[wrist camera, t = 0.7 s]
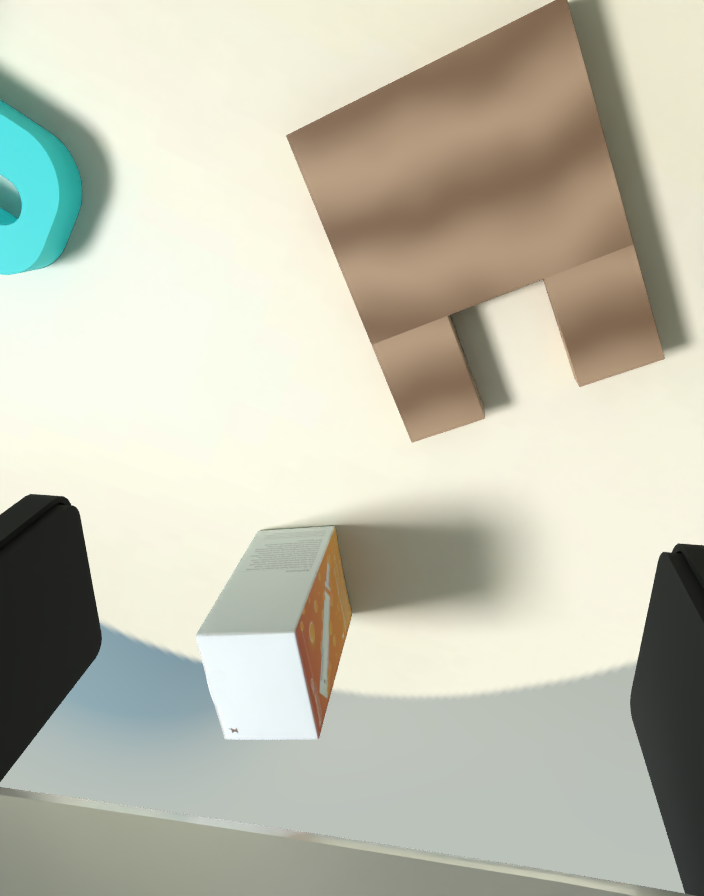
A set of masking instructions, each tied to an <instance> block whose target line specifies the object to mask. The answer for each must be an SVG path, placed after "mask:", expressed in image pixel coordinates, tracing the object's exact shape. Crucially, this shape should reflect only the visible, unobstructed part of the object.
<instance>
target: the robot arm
mask: <svg viewBox="0 0 704 896" xmlns="http://www.w3.org/2000/svg"><path fill="white" fill-rule="evenodd" d="M101 640H102V637H101V629H100V623H99V618H98V612H97V607H96V601H95V596H94V590H93V585H92V579H91V574H90V568H89V563H88V557H87V552H86V546H85V541H84V535H83V530H82V524H81V519H80V514H79V511H78V509H77V508H76V507H75V506H71V503H70V502H69V500H68V499H67V498H65V497H63V496H50V495H37V494H30V495H28V496H25V497H24V498H23V499H21V500H20V501H18V502H17V503H16V504H14V505H13V506H12V507H10V508H9V509H7V510H6V511H5V512H3V513H2V514H1V515H0V782H1V780H2V779H3V778H4V776H5V775H6V774H7V772H8V771H9V770H10V768H11V767H12V766H13V764H14V763H15V762H16V761H17V759H18V758H19V757H20V756H21V754H22V753H23V752H24V750H25V749H26V748H27V746H28V745H29V744H30V743H31V741H32V740H33V739H34V737H35V736H36V735H37V733H38V732H39V731H40V730H41V728H42V727H43V726H44V724H45V723H46V722H47V720H48V719H49V718H50V716H51V715H52V714H53V712H54V711H55V710H56V709H57V707H58V706H59V705H60V704H61V702H62V701H63V700H64V698H65V697H66V696H67V694H68V693H69V692H70V691H71V689H72V688H73V687H74V685H75V684H76V683H77V681H78V680H79V679H80V677H81V676H82V675H83V674H84V672H85V671H86V669H87V668H88V667H89V666H90V664H91V663H92V662H93V661H94V659H95V658H96V656H97V655H98V652H99V650H100V646H101ZM630 705H631V715H632V720H633V723H634V727H635V730H636V733H637V736H638V740H639V743H640V746H641V750H642V753H643V756H644V759H645V763H646V766H647V769H648V772H649V776H650V779H651V782H652V786H653V789H654V792H655V795H656V799H657V802H658V805H659V808H660V812H661V815H662V819H663V822H664V825H665V828H666V832H667V835H668V838H669V842H670V845H671V848H672V851H673V854H674V858H675V861H676V864H677V868H678V871H679V874H680V878H681V881H682V884H683V888H684V891H685V894H684V893H678V892H673V891H667V890H662V889H656V888H650V887H645V886H639V885H633V884H627V883H621V882H615V881H609V880H603V879H597V878H591V877H585V876H580V875H574V874H568V873H562V872H556V871H551V870H544V869H538V868H532V867H526V866H520V865H513V864H507V863H500V862H494V861H487V860H481V859H475V858H469V857H462V856H456V855H449V854H443V853H436V852H430V851H424V850H417V849H410V848H404V847H398V846H391V845H385V844H378V843H372V842H366V841H359V840H352V839H346V838H340V837H334V836H327V835H321V834H314V833H307V832H301V831H294V830H288V829H281V828H274V827H268V826H261V825H254V824H248V823H241V822H234V821H228V820H221V819H214V818H208V817H201V816H194V815H188V814H180V813H174V812H168V811H161V810H154V809H147V808H141V807H133V806H127V805H120V804H113V803H107V802H100V801H93V800H87V799H80V798H73V797H66V796H58V795H52V794H45V793H37V792H31V791H23V790H16V789H10V788H2V787H0V896H704V546H703V545H690V544H677V545H676V546H675V547H674V549H673V551H672V553H669V552H663V553H662V554H661V555H660V557H659V560H658V564H657V569H656V574H655V579H654V584H653V589H652V594H651V598H650V603H649V608H648V613H647V618H646V623H645V627H644V632H643V637H642V642H641V647H640V652H639V657H638V661H637V666H636V671H635V676H634V681H633V686H632V691H631V699H630Z"/></svg>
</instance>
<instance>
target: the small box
mask: <svg viewBox="0 0 704 896" xmlns="http://www.w3.org/2000/svg"><path fill="white" fill-rule="evenodd" d="M351 616H352V611H351V607H350V603H349V598H348V594H347V589H346V584H345V578H344V574H343V568H342V563H341V557H340V551H339V546H338V540H337V534H336V528H335V526H322V527H308V528H294V529H278V530H265V531H258V532H257V533H256V535H255V537H254V539H253V540H252V542H251V544H250V545H249V547H248V549H247V550H246V552H245V554H244V555H243V557H242V559H241V560H240V562H239V564H238V565H237V567H236V569H235V570H234V572H233V574H232V575H231V577H230V579H229V580H228V582H227V584H226V585H225V587H224V589H223V591H222V592H221V594H220V596H219V597H218V599H217V601H216V602H215V604H214V606H213V607H212V609H211V611H210V613H209V614H208V616H207V618H206V619H205V621H204V622H203V624H202V626H201V627H200V629H199V631H198V632H197V634H196V640H197V644H198V648H199V651H200V655H201V659H202V662H203V666H204V669H205V673H206V678H207V683H208V687H209V691H210V694H211V697H212V700H213V702H214V705H215V708H216V711H217V714H218V717H219V721H220V724H221V727H222V731H223V734H224V737H225V739H238V740H240V739H241V740H283V739H284V740H285V739H286V740H293V739H294V740H297V739H318V738H319V736H320V732H321V728H322V724H323V720H324V717H325V713H326V709H327V705H328V702H329V698H330V694H331V691H332V687H333V683H334V680H335V676H336V672H337V669H338V665H339V661H340V657H341V653H342V650H343V646H344V642H345V639H346V636H347V632H348V628H349V624H350V621H351Z"/></svg>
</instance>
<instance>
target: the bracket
mask: <svg viewBox="0 0 704 896" xmlns="http://www.w3.org/2000/svg"><path fill="white" fill-rule="evenodd" d="M0 175H2V176H3V177H5V178H6V179H8V180H9V181H10V182H12V183H13V185H14V186H15V187H16V189H17V190H18V192H19V194H20V197H21V202H22V210H21V214H20V216H19V218H18V219H17V218H16V217H14V216H13V215H11V214H10V213H8V212H6V211H5V210H3V209H2V208H0V274H3V275H10V274H16V273H21V272H26V271H31V270H36V269H40V268H44V267H46V266H48V265H50V264H52V263H53V262H54V261H55V260H56V259H57V258H58V257H59V256H60V255H61V253H62V252H63V250H64V248H65V246H66V244H67V241H68V239H69V236H70V234H71V231H72V229H73V226H74V224H75V221H76V219H77V216H78V214H79V211H80V207H81V202H82V184H81V178H80V174H79V171H78V168H77V165H76V163H75V161H74V159H73V157H72V155H71V154H70V152H69V151H68V149H67V148H66V147H65V146H64V144H63V143H62V142H61V141H60V140H59V139H58V138H56V137H55V136H54V135H53V134H51V133H50V132H48V131H47V130H45V129H44V128H42V127H41V126H39V125H38V124H36V123H35V122H33V121H32V120H30V119H29V118H27V117H26V116H24V115H23V114H21V113H20V112H18V111H17V110H15V109H14V108H12V107H11V106H9V105H8V104H6V103H5V102H3V101H2V100H0Z"/></svg>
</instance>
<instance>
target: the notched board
mask: <svg viewBox="0 0 704 896" xmlns="http://www.w3.org/2000/svg"><path fill="white" fill-rule="evenodd" d="M286 137H287V139H288V141H289V144H290V146H291V149H292V151H293V154H294V156H295V159H296V161H297V163H298V166H299V168H300V171H301V173H302V176H303V178H304V181H305V183H306V185H307V188H308V190H309V193H310V195H311V198H312V200H313V203H314V205H315V207H316V210H317V212H318V215H319V217H320V220H321V222H322V224H323V227H324V229H325V232H326V234H327V237H328V239H329V242H330V244H331V246H332V249H333V251H334V254H335V256H336V259H337V261H338V264H339V266H340V268H341V271H342V273H343V276H344V278H345V281H346V283H347V286H348V288H349V290H350V293H351V295H352V298H353V300H354V303H355V305H356V308H357V310H358V312H359V315H360V317H361V320H362V322H363V325H364V327H365V330H366V332H367V334H368V337H369V339H370V342H371V344H372V347H373V349H374V351H375V354H376V356H377V359H378V361H379V364H380V366H381V369H382V371H383V373H384V376H385V378H386V381H387V383H388V386H389V388H390V391H391V393H392V395H393V398H394V400H395V403H396V405H397V408H398V410H399V413H400V415H401V417H402V420H403V422H404V425H405V427H406V430H407V432H408V435H409V437H410V439H411V442H415V441H418V440H421V439H424V438H427V437H430V436H433V435H436V434H440V433H443V432H446V431H449V430H452V429H455V428H458V427H461V426H464V425H467V424H470V423H473V422H476V421H479V420H482V419H485V412H484V407H483V404H482V401H481V398H480V396H479V393H478V390H477V388H476V385H475V382H474V379H473V377H472V374H471V371H470V368H469V366H468V363H467V360H466V358H465V355H464V352H463V349H462V347H461V344H460V341H459V338H458V336H457V333H456V330H455V328H454V325H453V322H452V319H451V317H450V315H451V314H454V313H456V312H459V311H461V310H464V309H467V308H469V307H472V306H474V305H477V304H480V303H482V302H485V301H488V300H490V299H493V298H495V297H498V296H501V295H503V294H506V293H508V292H511V291H514V290H516V289H519V288H521V287H524V286H527V285H529V284H532V283H534V282H537V281H540V280H542V279H543V280H544V283H545V286H546V290H547V293H548V296H549V299H550V302H551V305H552V308H553V312H554V315H555V318H556V321H557V324H558V327H559V330H560V334H561V337H562V340H563V343H564V346H565V349H566V352H567V356H568V359H569V362H570V365H571V368H572V371H573V374H574V378H575V380H576V381H577V383H578V385H579V387H581V386H584V385H587V384H590V383H593V382H596V381H599V380H602V379H605V378H608V377H611V376H614V375H617V374H620V373H623V372H626V371H629V370H632V369H635V368H638V367H642V366H645V365H648V364H651V363H654V362H657V361H660V360H663V359H665V358H664V354H663V351H662V347H661V343H660V340H659V336H658V332H657V329H656V325H655V321H654V318H653V314H652V310H651V306H650V303H649V299H648V295H647V292H646V288H645V284H644V281H643V277H642V273H641V270H640V266H639V262H638V259H637V255H636V251H635V248H634V244H633V240H632V237H631V233H630V229H629V226H628V222H627V218H626V215H625V211H624V207H623V204H622V200H621V196H620V193H619V189H618V185H617V182H616V178H615V174H614V171H613V167H612V163H611V160H610V156H609V152H608V149H607V145H606V141H605V138H604V134H603V130H602V127H601V123H600V119H599V116H598V112H597V108H596V105H595V101H594V97H593V94H592V90H591V86H590V83H589V79H588V75H587V71H586V68H585V64H584V60H583V57H582V53H581V49H580V46H579V42H578V38H577V35H576V31H575V27H574V24H573V20H572V16H571V13H570V9H569V5H568V2H567V0H555V1H553V2H551V3H549V4H547V5H545V6H543V7H541V8H539V9H537V10H535V11H533V12H531V13H529V14H527V15H525V16H523V17H521V18H519V19H517V20H515V21H513V22H511V23H509V24H507V25H505V26H503V27H501V28H499V29H497V30H495V31H493V32H491V33H489V34H487V35H485V36H483V37H481V38H480V39H478V40H476V41H474V42H472V43H470V44H468V45H466V46H464V47H462V48H460V49H458V50H456V51H454V52H452V53H450V54H448V55H446V56H444V57H442V58H440V59H438V60H436V61H434V62H432V63H430V64H428V65H426V66H424V67H422V68H420V69H418V70H416V71H414V72H412V73H410V74H408V75H406V76H404V77H402V78H400V79H398V80H396V81H394V82H392V83H390V84H388V85H386V86H384V87H382V88H380V89H378V90H376V91H374V92H372V93H370V94H368V95H366V96H364V97H362V98H360V99H358V100H356V101H354V102H352V103H350V104H348V105H346V106H344V107H342V108H340V109H338V110H336V111H334V112H332V113H330V114H328V115H326V116H324V117H322V118H320V119H318V120H316V121H314V122H312V123H310V124H308V125H306V126H304V127H302V128H300V129H298V130H296V131H294V132H292V133H290V134H288V135H286Z"/></svg>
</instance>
